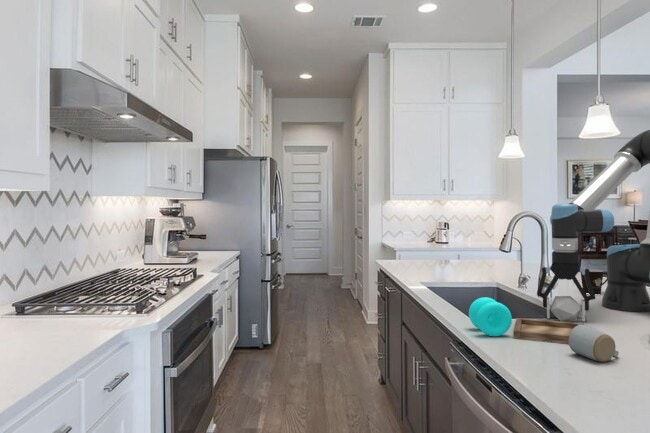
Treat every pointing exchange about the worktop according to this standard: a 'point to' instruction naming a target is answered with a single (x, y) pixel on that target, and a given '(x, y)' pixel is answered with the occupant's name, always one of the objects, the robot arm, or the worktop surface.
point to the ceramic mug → (592, 343)
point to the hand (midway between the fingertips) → (565, 318)
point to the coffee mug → (594, 280)
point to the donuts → (498, 316)
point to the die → (565, 308)
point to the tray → (543, 330)
